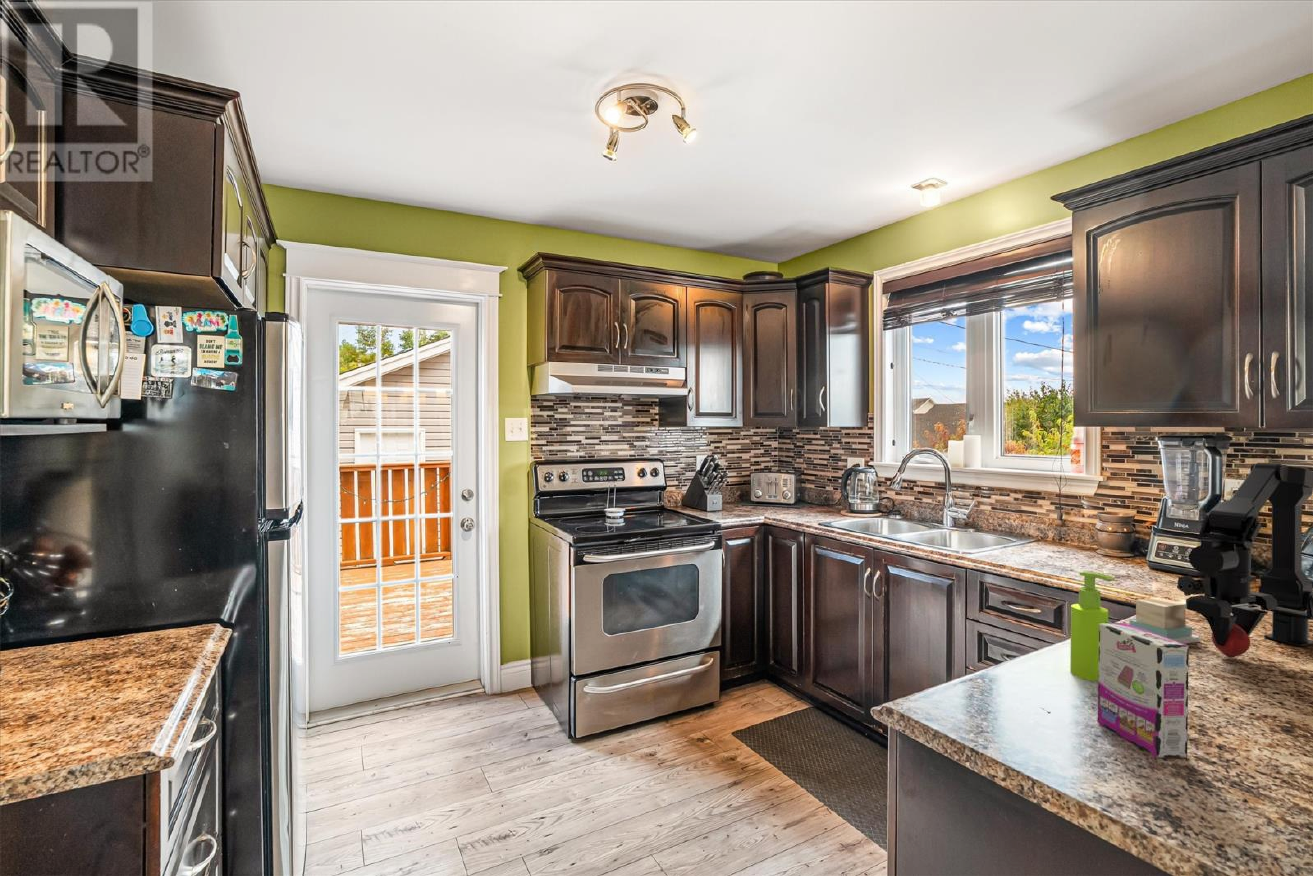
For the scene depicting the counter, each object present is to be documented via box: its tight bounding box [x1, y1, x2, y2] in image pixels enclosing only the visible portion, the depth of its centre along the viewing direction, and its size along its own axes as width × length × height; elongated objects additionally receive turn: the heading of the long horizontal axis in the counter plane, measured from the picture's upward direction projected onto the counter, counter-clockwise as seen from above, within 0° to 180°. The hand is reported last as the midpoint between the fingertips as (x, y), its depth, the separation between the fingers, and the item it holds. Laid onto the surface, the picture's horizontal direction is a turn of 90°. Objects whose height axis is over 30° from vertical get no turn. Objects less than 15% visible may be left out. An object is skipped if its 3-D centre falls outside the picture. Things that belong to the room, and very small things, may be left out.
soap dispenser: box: [1070, 570, 1116, 682], centre depth 117 cm, size 6×7×20 cm
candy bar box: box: [1097, 622, 1190, 759], centre depth 93 cm, size 11×5×16 cm, turn 5°
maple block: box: [1135, 597, 1187, 629], centre depth 140 cm, size 7×6×5 cm
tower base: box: [1129, 618, 1201, 645], centre depth 140 cm, size 10×10×3 cm
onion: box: [1211, 623, 1251, 659], centre depth 127 cm, size 6×6×8 cm
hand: (1230, 644), depth 127 cm, fingers closed on onion, 6 cm apart
